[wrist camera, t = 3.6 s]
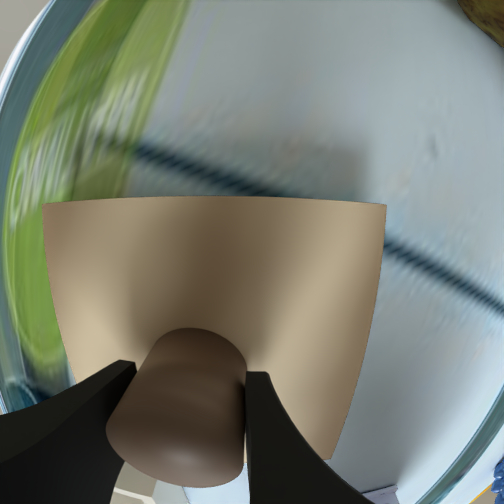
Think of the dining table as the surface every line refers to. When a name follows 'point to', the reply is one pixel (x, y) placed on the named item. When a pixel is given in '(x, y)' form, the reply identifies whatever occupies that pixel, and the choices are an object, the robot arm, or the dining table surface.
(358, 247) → the lid
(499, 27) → the potato
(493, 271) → the dining table surface
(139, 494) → the dish
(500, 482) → the grapes
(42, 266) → the dining table surface
